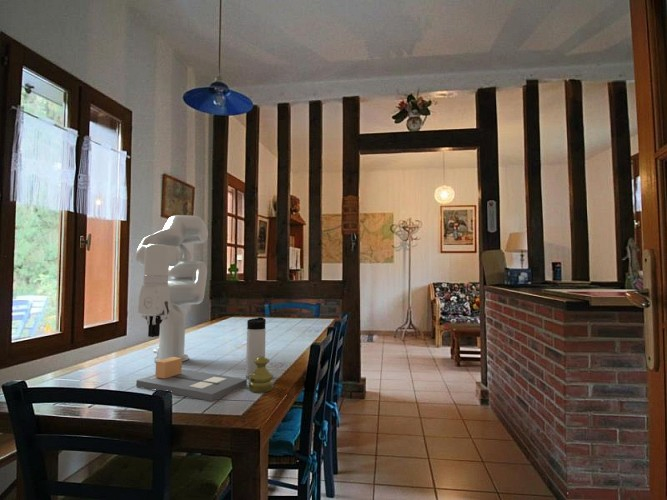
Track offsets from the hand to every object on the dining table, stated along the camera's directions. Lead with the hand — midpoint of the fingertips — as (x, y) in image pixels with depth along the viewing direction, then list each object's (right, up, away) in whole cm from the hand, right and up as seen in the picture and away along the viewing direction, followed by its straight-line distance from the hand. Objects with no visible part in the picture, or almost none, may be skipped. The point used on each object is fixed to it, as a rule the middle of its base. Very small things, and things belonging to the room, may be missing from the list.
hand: (153, 336), depth 129 cm
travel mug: (+33, -15, +4) cm, 37 cm away
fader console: (+15, -14, -7) cm, 22 cm away
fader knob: (+6, -12, -3) cm, 14 cm away
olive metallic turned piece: (+37, -15, -9) cm, 41 cm away
